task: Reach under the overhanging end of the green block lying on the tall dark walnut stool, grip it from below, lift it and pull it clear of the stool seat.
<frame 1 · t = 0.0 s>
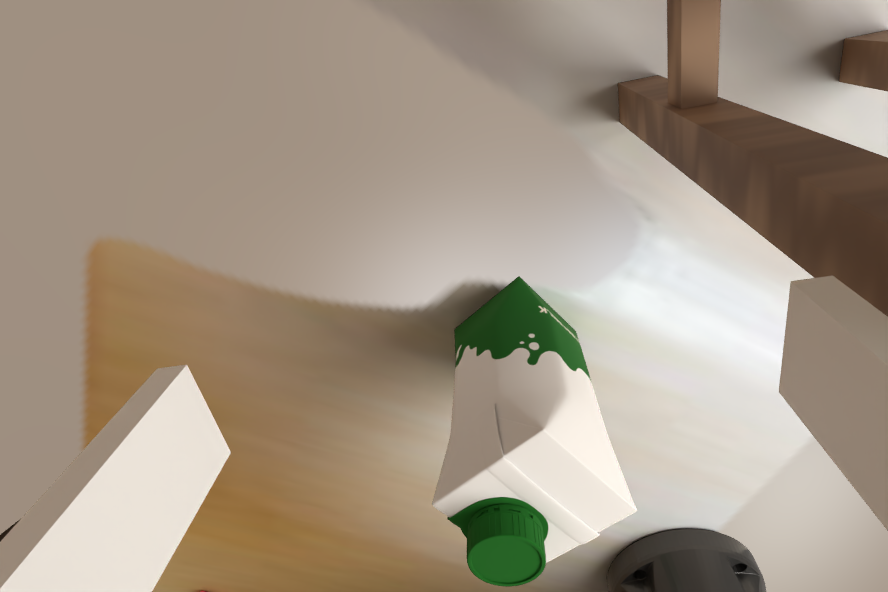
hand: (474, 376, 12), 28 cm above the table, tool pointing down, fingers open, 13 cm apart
milk carton: (515, 328, 44), on the table
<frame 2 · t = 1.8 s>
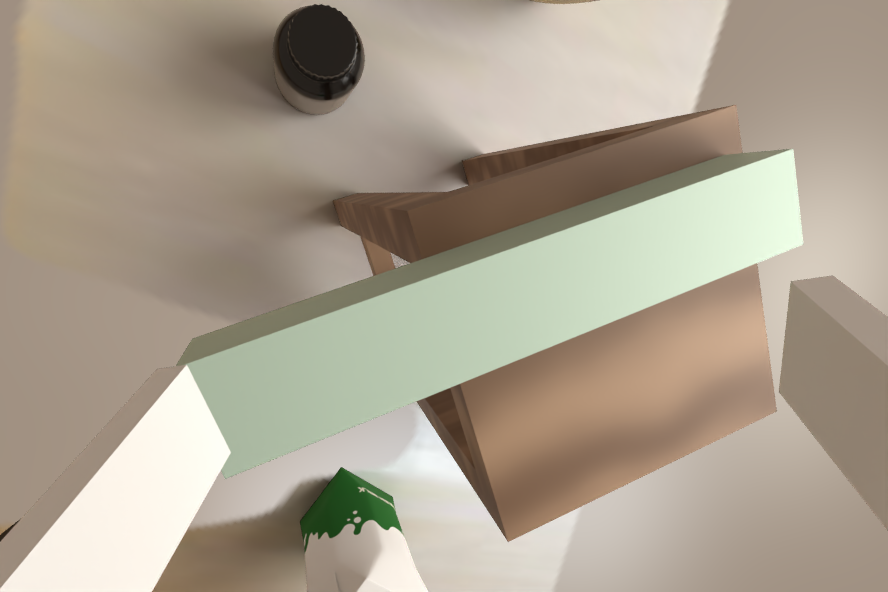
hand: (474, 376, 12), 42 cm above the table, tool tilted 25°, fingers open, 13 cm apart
supplement bottle: (313, 76, 49), on the table
walnut stool: (434, 253, 55), on the table
green block: (501, 281, 23), point 32 cm above the table, touching walnut stool
milk carton: (347, 507, 57), on the table
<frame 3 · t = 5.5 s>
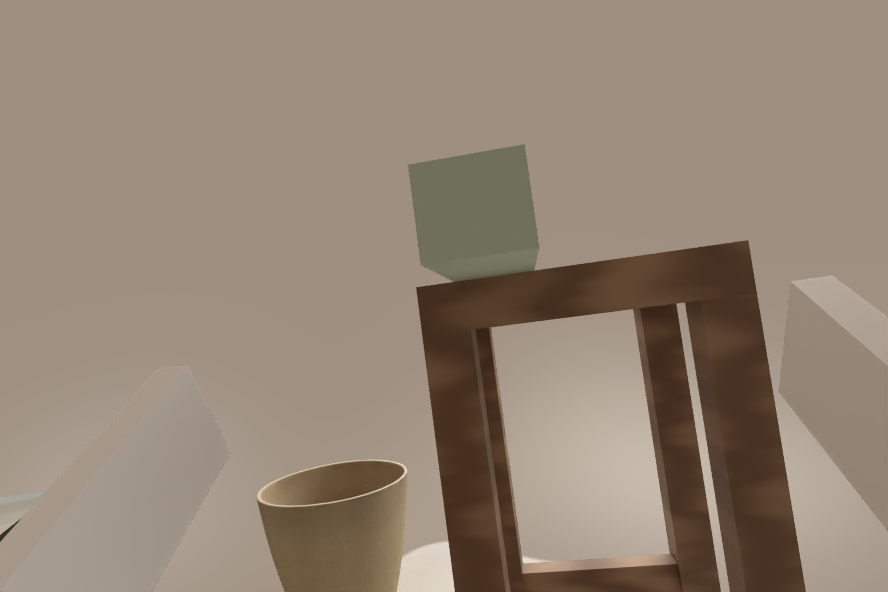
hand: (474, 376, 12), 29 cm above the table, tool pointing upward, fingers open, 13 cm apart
green block: (497, 280, 30), point 32 cm above the table, touching walnut stool
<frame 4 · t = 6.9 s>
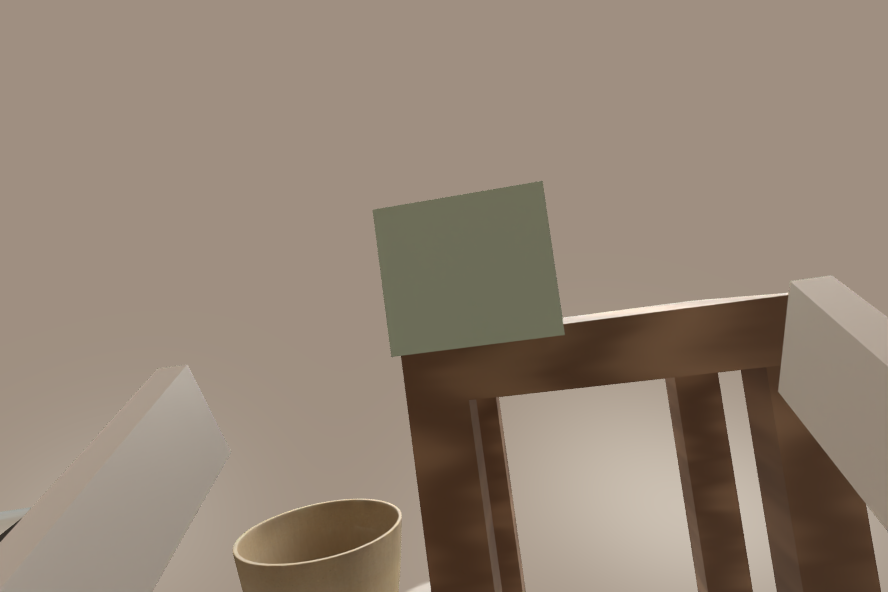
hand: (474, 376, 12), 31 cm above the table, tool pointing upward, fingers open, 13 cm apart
green block: (501, 330, 24), point 32 cm above the table, touching walnut stool
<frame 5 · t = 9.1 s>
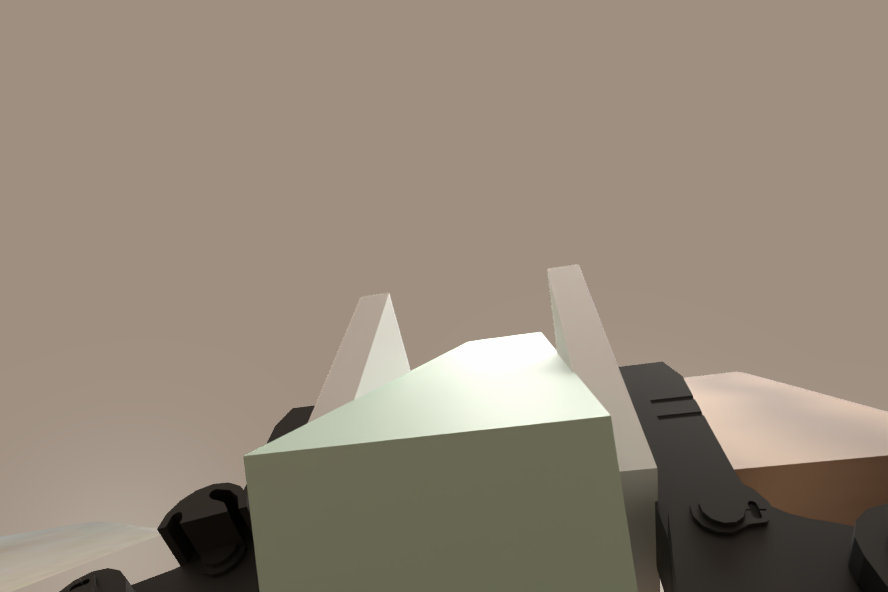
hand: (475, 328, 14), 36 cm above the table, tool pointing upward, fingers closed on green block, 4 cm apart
green block: (505, 460, 17), point 32 cm above the table, touching gripper, walnut stool
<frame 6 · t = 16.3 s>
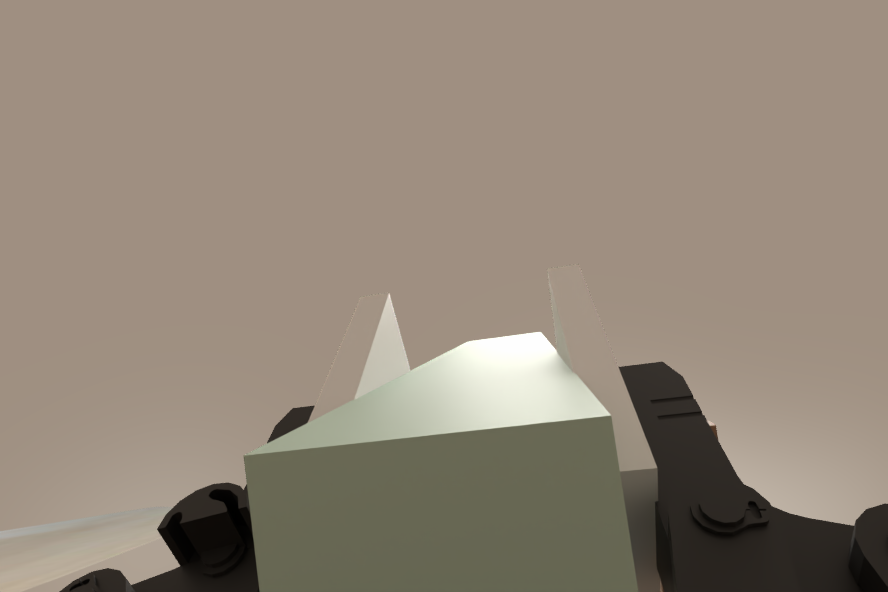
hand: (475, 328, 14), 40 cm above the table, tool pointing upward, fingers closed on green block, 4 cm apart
green block: (505, 460, 17), point 36 cm above the table, touching gripper
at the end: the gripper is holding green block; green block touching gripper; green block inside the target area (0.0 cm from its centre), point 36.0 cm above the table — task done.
